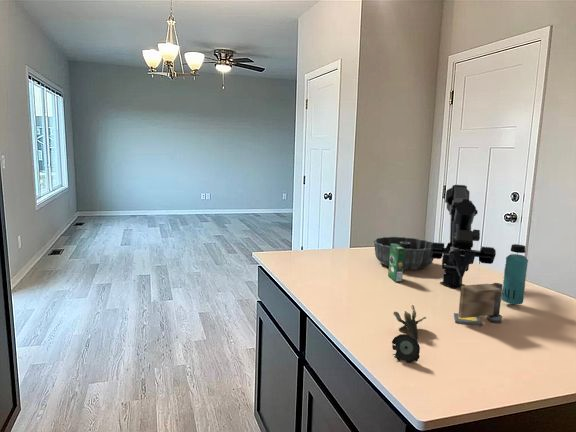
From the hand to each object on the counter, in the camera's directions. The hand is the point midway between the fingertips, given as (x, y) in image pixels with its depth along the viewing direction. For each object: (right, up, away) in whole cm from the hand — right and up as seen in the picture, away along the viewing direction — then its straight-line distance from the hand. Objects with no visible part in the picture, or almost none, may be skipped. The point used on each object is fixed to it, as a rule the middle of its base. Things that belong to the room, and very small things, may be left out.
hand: (461, 276), depth 132 cm
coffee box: (-12, -6, +33) cm, 36 cm away
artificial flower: (-22, -14, -21) cm, 34 cm away
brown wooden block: (+3, -11, -9) cm, 14 cm away
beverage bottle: (+19, -11, +8) cm, 24 cm away
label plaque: (-1, -12, -6) cm, 13 cm away
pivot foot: (+7, -12, -5) cm, 15 cm away
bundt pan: (-3, -3, +54) cm, 54 cm away
